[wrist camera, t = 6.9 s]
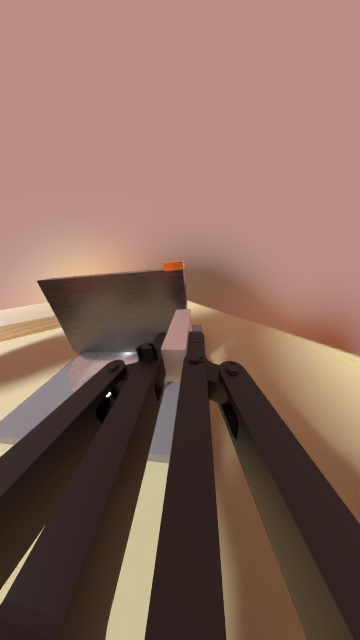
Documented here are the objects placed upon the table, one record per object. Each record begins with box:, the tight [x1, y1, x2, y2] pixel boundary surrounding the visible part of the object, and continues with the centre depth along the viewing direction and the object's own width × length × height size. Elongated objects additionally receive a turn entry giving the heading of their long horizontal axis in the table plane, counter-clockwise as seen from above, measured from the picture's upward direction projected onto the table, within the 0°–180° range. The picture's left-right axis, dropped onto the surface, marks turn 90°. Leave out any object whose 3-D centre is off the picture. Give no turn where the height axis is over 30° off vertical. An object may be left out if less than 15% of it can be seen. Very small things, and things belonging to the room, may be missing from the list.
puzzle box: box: [0, 302, 61, 342], centre depth 42 cm, size 36×5×24 cm
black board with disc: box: [37, 261, 187, 397], centre depth 19 cm, size 18×16×14 cm
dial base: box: [0, 325, 202, 463], centre depth 22 cm, size 22×22×2 cm
